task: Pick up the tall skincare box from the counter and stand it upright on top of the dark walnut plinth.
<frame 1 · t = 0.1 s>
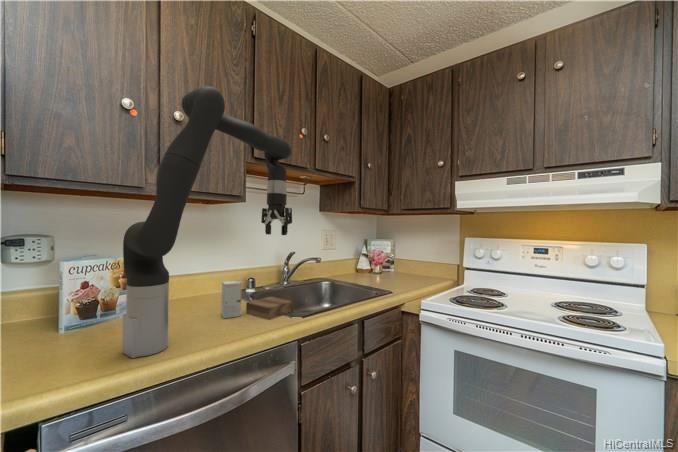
hand: (276, 234, 112), 29 cm above the worktop, tool pointing down, fingers open, 8 cm apart
skincare box: (231, 316, 104), on the worktop
walnut plinth: (269, 312, 109), on the worktop
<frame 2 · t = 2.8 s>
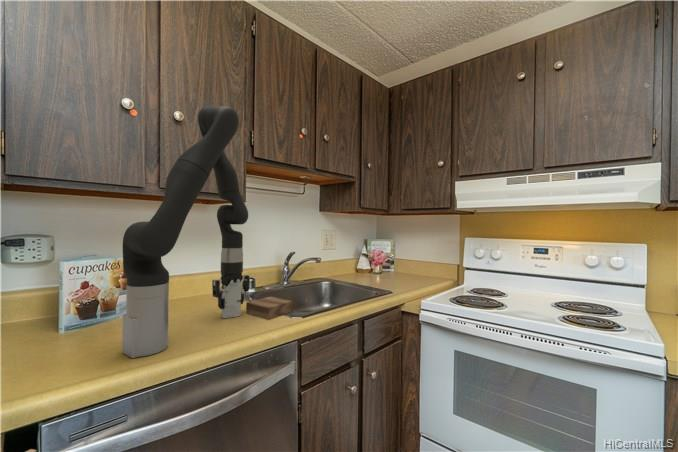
hand: (231, 306, 104), 3 cm above the worktop, tool pointing down, fingers closed on skincare box, 7 cm apart
skincare box: (231, 316, 104), on the worktop, touching gripper
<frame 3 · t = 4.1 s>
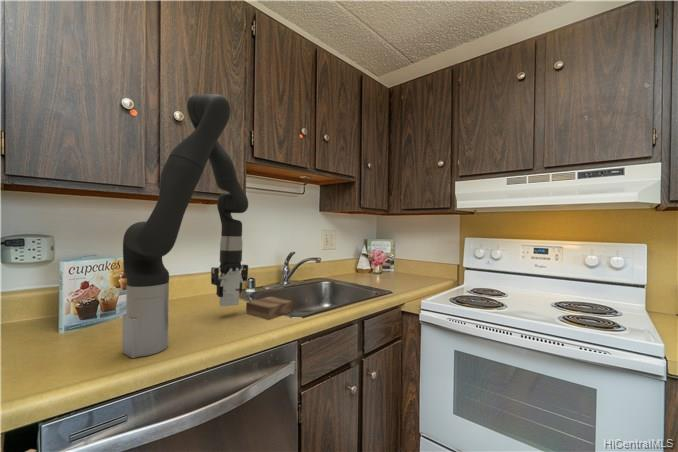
hand: (229, 294, 104), 8 cm above the worktop, tool pointing down, fingers closed on skincare box, 7 cm apart
skincare box: (229, 305, 104), point 4 cm above the worktop, touching gripper
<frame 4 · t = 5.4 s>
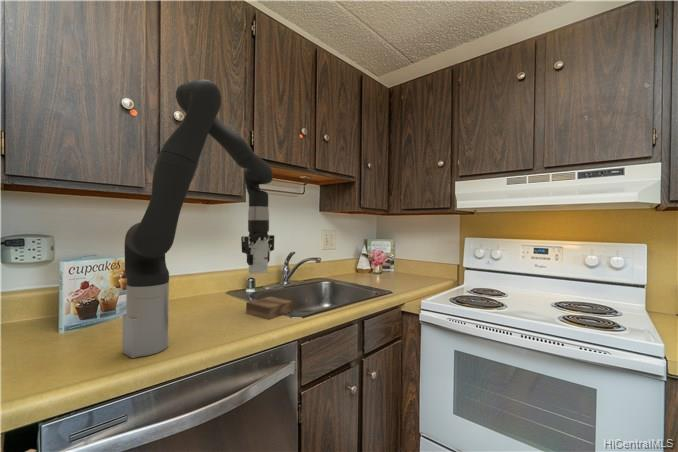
hand: (258, 263, 108), 18 cm above the worktop, tool pointing down, fingers closed on skincare box, 7 cm apart
skincare box: (258, 273, 108), point 15 cm above the worktop, touching gripper
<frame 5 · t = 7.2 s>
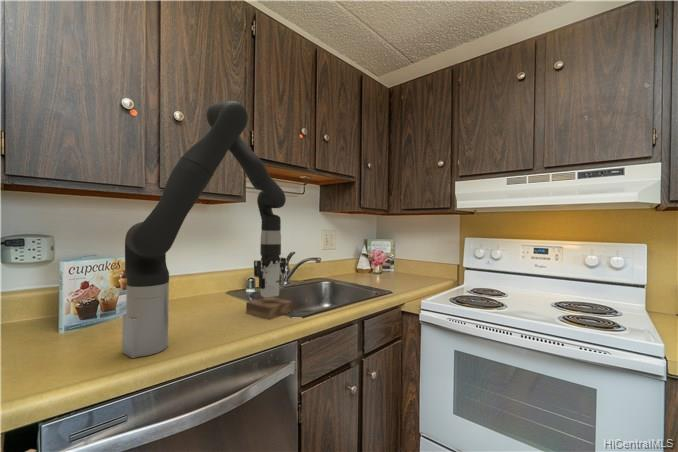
hand: (270, 286, 108), 10 cm above the worktop, tool pointing down, fingers closed on skincare box, 7 cm apart
skincare box: (269, 296, 109), point 6 cm above the worktop, touching gripper
when the fingers open (9 cm above the worktop, at t = 8.1 s): skincare box drops 1 cm, resting on walnut plinth.
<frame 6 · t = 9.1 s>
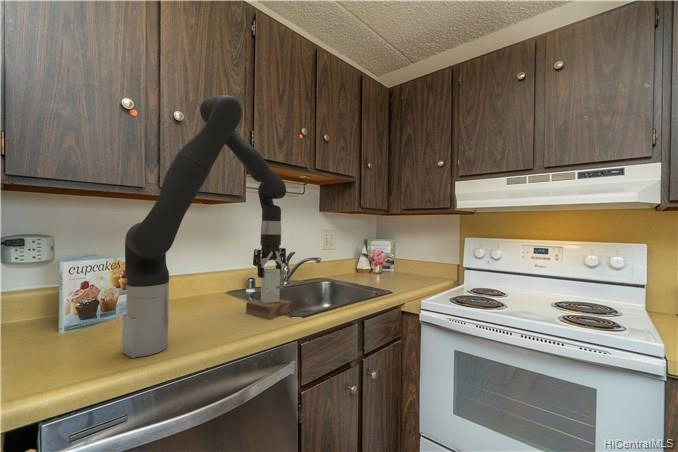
hand: (269, 276, 109), 14 cm above the worktop, tool pointing down, fingers open, 8 cm apart
skincare box: (270, 302, 109), point 4 cm above the worktop, touching gripper, walnut plinth
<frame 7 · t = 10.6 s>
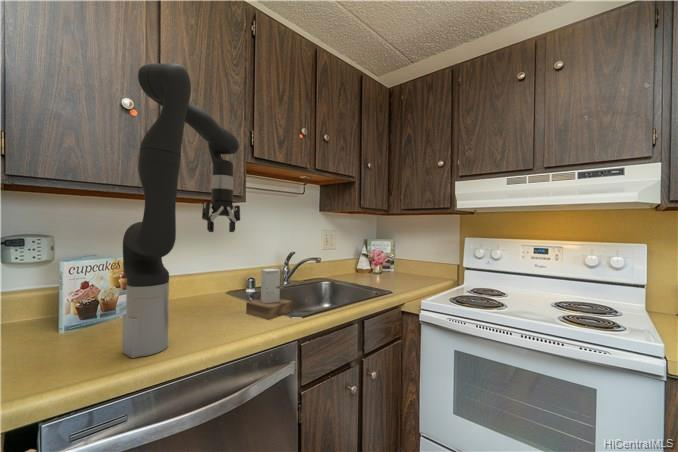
hand: (221, 232, 108), 30 cm above the worktop, tool pointing down, fingers open, 8 cm apart
skincare box: (270, 302, 109), point 4 cm above the worktop, touching walnut plinth
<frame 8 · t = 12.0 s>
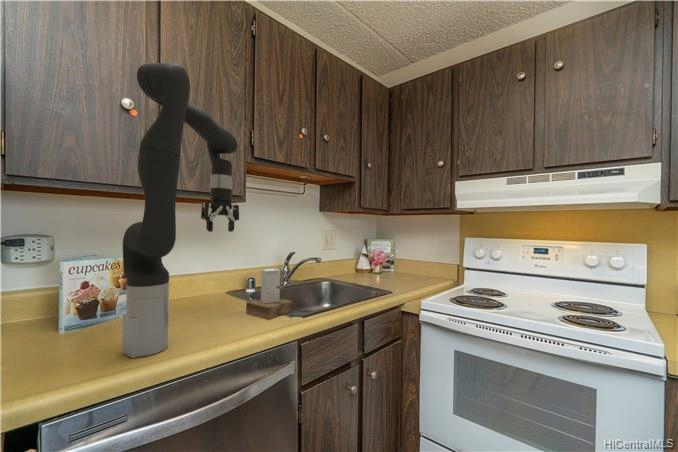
hand: (220, 231, 108), 30 cm above the worktop, tool pointing down, fingers open, 8 cm apart
nothing on the worktop moved.
at the end: skincare box inside the target area on the walnut plinth (0.3 cm from its centre), point 3.8 cm above the walnut plinth's base; skincare box tilted 0°; the gripper is holding nothing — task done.
